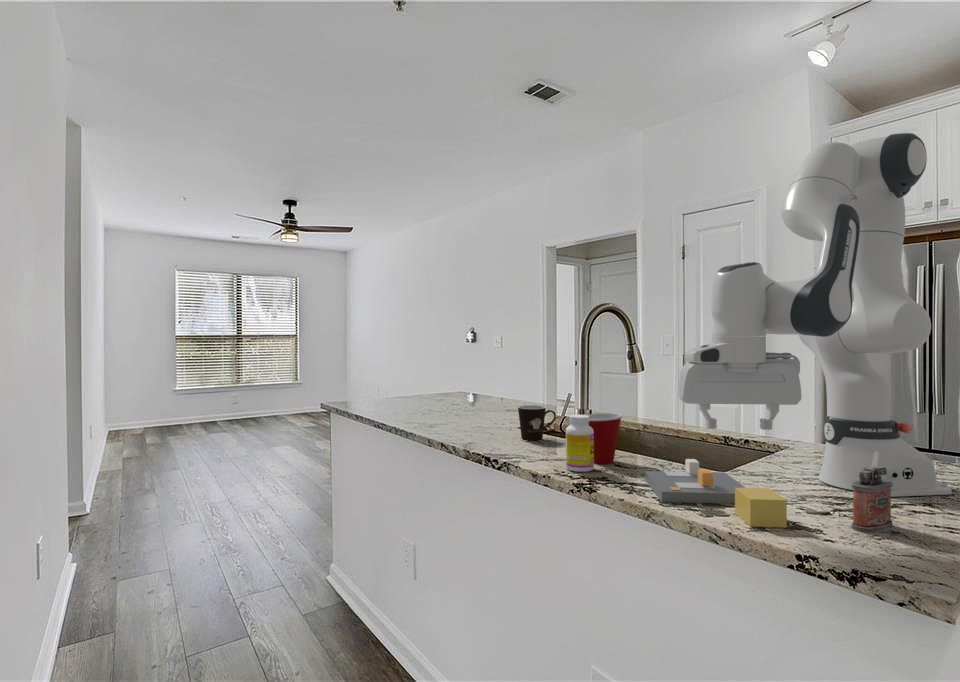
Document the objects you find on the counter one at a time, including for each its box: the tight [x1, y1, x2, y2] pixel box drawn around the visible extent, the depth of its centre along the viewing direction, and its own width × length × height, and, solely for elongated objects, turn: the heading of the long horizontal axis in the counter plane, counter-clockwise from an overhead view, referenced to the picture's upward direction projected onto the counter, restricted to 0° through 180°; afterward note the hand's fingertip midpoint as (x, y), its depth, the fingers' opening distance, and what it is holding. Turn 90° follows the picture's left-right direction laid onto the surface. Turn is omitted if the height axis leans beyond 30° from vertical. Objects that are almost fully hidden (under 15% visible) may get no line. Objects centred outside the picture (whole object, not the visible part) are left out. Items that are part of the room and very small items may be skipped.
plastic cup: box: [586, 412, 623, 465], centre depth 132 cm, size 11×11×12 cm
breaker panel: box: [644, 470, 746, 505], centre depth 106 cm, size 17×15×2 cm
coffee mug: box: [517, 404, 557, 442], centre depth 160 cm, size 12×9×10 cm
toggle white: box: [684, 458, 700, 474], centre depth 112 cm, size 2×3×2 cm, turn 174°
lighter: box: [851, 466, 893, 534], centre depth 86 cm, size 8×3×10 cm, turn 113°
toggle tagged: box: [698, 468, 713, 486], centre depth 103 cm, size 2×3×2 cm, turn 174°
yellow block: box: [734, 487, 788, 529], centre depth 90 cm, size 6×7×5 cm
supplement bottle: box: [565, 414, 595, 473], centre depth 124 cm, size 7×7×13 cm
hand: (738, 428), depth 94 cm, fingers open, 8 cm apart
